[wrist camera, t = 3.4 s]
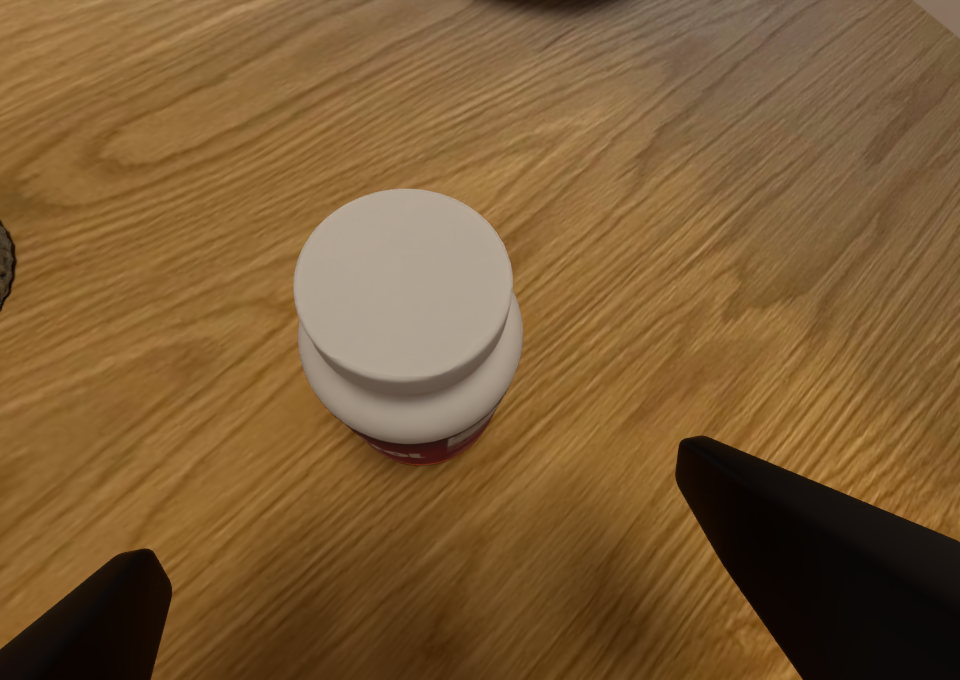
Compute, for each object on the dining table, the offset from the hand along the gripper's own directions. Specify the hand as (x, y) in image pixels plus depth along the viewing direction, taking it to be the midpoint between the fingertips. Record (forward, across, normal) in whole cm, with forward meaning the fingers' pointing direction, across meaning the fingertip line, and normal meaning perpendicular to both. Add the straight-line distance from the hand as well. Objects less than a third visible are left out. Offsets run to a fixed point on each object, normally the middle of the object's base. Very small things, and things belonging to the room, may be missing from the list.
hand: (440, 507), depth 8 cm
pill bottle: (+11, 0, +5) cm, 12 cm away
